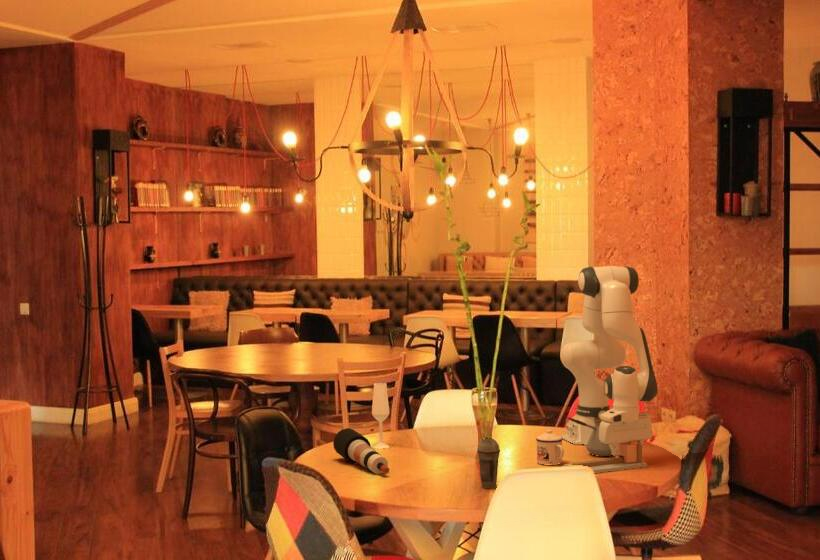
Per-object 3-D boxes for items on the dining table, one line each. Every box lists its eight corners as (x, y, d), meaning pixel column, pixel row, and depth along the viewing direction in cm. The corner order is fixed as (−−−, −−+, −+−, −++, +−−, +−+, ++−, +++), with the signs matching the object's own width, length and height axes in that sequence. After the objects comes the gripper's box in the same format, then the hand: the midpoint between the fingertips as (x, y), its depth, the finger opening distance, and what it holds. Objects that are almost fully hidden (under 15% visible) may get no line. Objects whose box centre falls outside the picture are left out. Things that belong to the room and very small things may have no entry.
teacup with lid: (531, 462, 366) (530, 429, 365) (551, 459, 370) (551, 426, 370) (552, 468, 355) (552, 435, 355) (573, 465, 360) (573, 431, 360)
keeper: (615, 459, 362) (615, 442, 362) (624, 457, 364) (624, 441, 364) (627, 462, 356) (627, 445, 356) (636, 461, 358) (636, 444, 357)
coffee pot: (605, 450, 384) (605, 409, 384) (625, 455, 374) (625, 414, 373) (557, 456, 375) (556, 414, 374) (576, 462, 364) (575, 419, 364)
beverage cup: (499, 483, 336) (498, 422, 335) (501, 489, 328) (501, 426, 327) (476, 484, 335) (475, 422, 334) (478, 489, 328) (478, 426, 327)
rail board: (563, 467, 356) (563, 447, 356) (625, 460, 367) (625, 439, 367) (583, 475, 346) (583, 453, 345) (647, 466, 356) (647, 445, 356)
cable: (380, 491, 347) (368, 466, 343) (340, 460, 377) (328, 437, 373) (404, 474, 350) (393, 449, 347) (363, 445, 380) (352, 422, 377)
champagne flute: (389, 448, 392) (388, 385, 391) (371, 448, 392) (370, 385, 391) (390, 445, 399) (389, 382, 398) (372, 445, 399) (371, 382, 398)
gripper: (644, 410, 366) (644, 449, 367) (596, 415, 358) (596, 455, 359) (656, 412, 361) (656, 452, 361) (607, 418, 352) (607, 458, 353)
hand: (626, 454), depth 360 cm, fingers open, 8 cm apart
